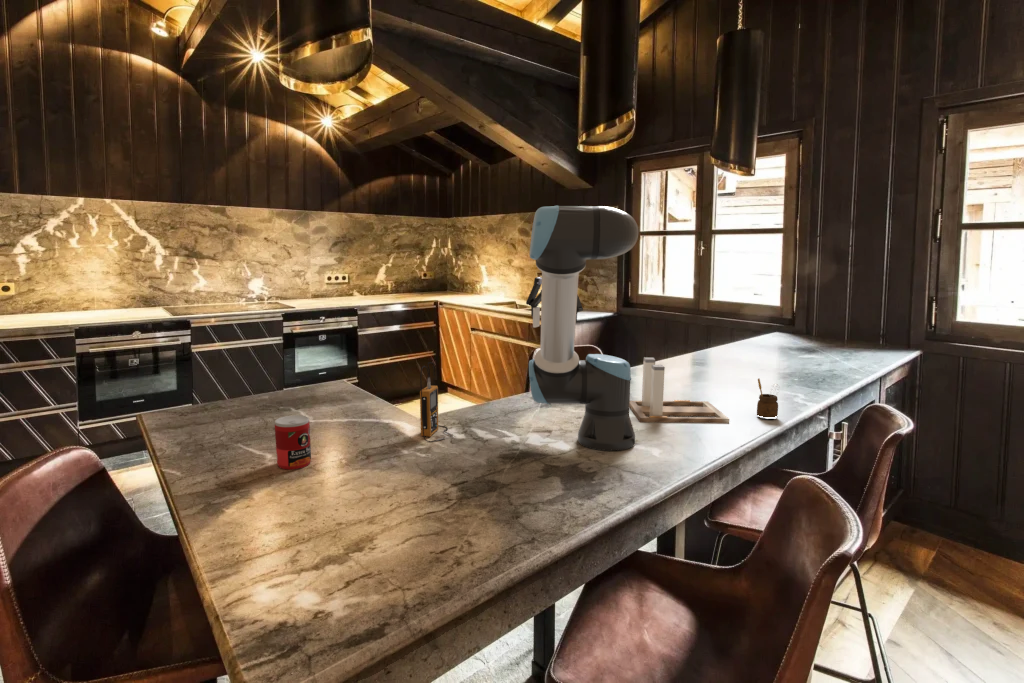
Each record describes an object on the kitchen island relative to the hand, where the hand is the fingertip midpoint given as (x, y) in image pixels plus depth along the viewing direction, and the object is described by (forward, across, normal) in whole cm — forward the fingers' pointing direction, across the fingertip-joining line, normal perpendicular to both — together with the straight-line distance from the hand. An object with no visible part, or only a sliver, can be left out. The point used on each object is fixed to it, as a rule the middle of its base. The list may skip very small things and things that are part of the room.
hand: (553, 330), depth 184 cm
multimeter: (+23, +6, +44) cm, 50 cm away
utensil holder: (+25, -60, -31) cm, 71 cm away
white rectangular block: (+23, -35, -4) cm, 42 cm away
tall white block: (+24, -28, -14) cm, 39 cm away
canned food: (+20, +17, +83) cm, 87 cm away
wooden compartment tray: (+25, -37, -14) cm, 47 cm away
